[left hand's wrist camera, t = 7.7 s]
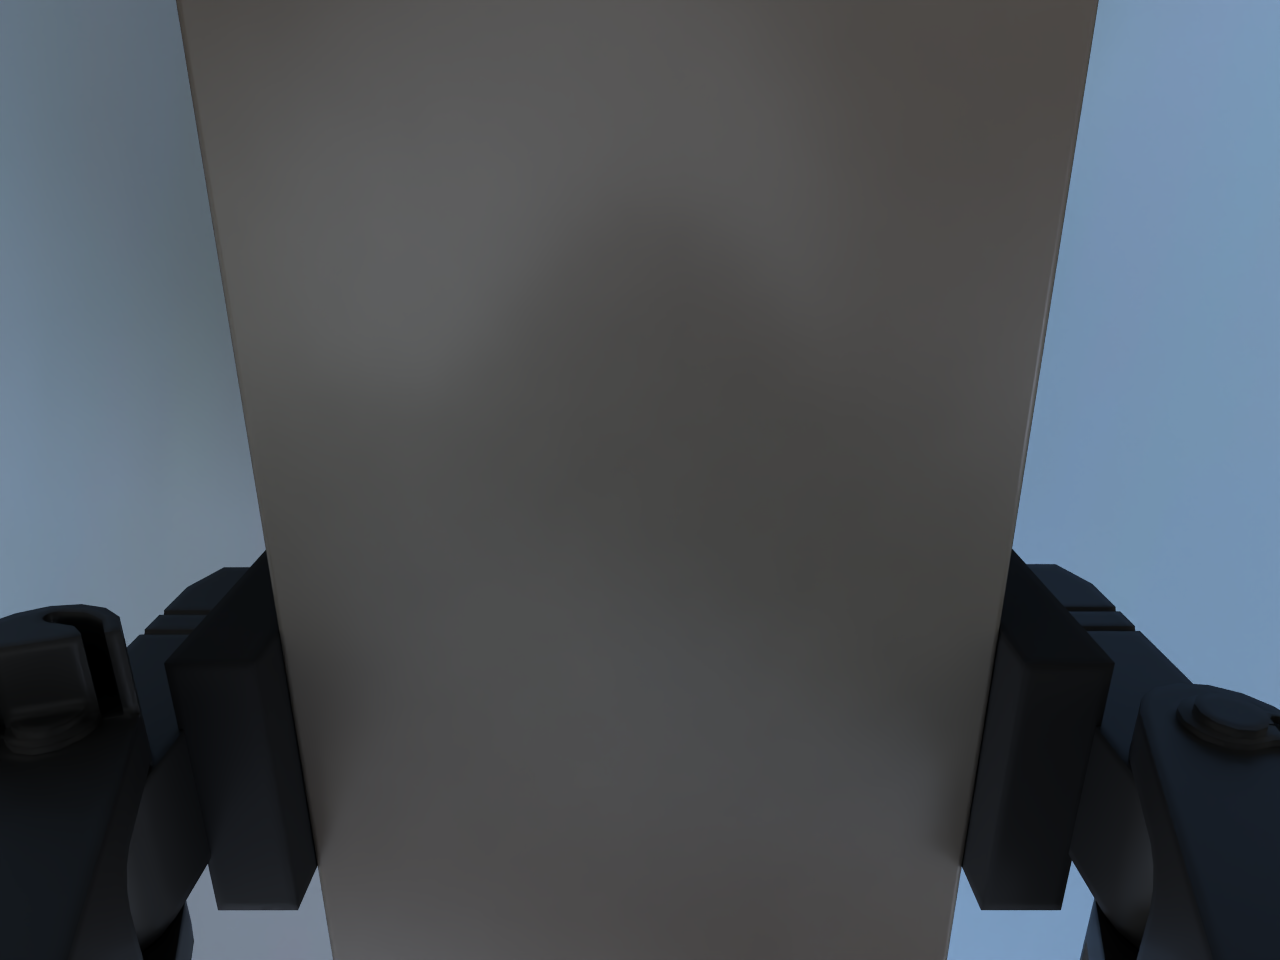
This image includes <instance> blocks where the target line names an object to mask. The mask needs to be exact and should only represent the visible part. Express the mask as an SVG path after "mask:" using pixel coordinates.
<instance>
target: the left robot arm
mask: <svg viewBox="0 0 1280 960" xmlns="http://www.w3.org/2000/svg"><path fill="white" fill-rule="evenodd" d="M1071 861H1073V863H1074V864H1075V866H1076V868H1077V869H1078V871H1079V873H1080V874H1081V876H1082V878H1083V880H1084V881H1085V883H1086V885H1087V886H1088V888H1089V890H1090V891H1091V893H1092V895H1093V896H1094V902H1093V906H1092V911H1091V915H1090V919H1089V923H1088V928H1087V932H1086V936H1085V940H1084V945H1083V949H1082V953H1081V957H1080V960H1280V710H1279V709H1277V708H1276V707H1274V706H1271V705H1269V704H1266V703H1264V702H1262V701H1259V700H1257V699H1254V698H1252V697H1250V696H1247V695H1245V694H1242V693H1239V692H1235V691H1231V690H1227V689H1222V688H1218V687H1214V686H1210V685H1200V684H1193V683H1192V682H1191V681H1190V680H1189V679H1188V678H1187V677H1186V676H1185V675H1184V674H1183V673H1182V672H1181V671H1180V670H1179V669H1178V668H1177V667H1176V666H1175V665H1174V664H1173V663H1172V662H1171V661H1170V660H1169V659H1168V658H1167V657H1166V656H1165V655H1164V654H1163V653H1161V652H1160V651H1159V650H1158V649H1157V648H1156V647H1155V646H1154V645H1153V644H1152V643H1151V642H1150V641H1149V640H1148V639H1147V638H1146V637H1145V636H1144V635H1143V634H1142V633H1141V632H1140V631H1135V626H1134V625H1133V624H1132V623H1131V622H1130V621H1129V620H1128V619H1127V618H1126V617H1125V616H1124V615H1123V614H1122V613H1121V612H1116V610H1115V606H1114V605H1113V604H1112V603H1111V602H1110V601H1109V600H1108V599H1107V598H1106V597H1105V596H1104V595H1103V594H1102V593H1101V592H1100V591H1099V590H1098V589H1097V588H1096V587H1095V586H1094V585H1093V584H1091V583H1090V582H1088V581H1086V580H1084V579H1082V578H1080V577H1078V576H1076V575H1075V574H1073V573H1071V572H1069V571H1067V570H1065V569H1063V568H1062V567H1060V566H1058V565H1056V564H1025V563H1024V561H1023V560H1022V559H1021V558H1020V557H1019V556H1018V555H1017V554H1016V553H1015V551H1014V550H1013V549H1012V551H1011V557H1010V563H1009V570H1008V576H1007V582H1006V589H1005V595H1004V601H1003V608H1002V614H1001V620H1000V627H999V633H998V639H997V646H996V652H995V658H994V665H993V671H992V677H991V684H990V690H989V696H988V702H987V709H986V715H985V721H984V728H983V734H982V740H981V747H980V753H979V759H978V766H977V772H976V778H975V785H974V791H973V797H972V804H971V810H970V816H969V823H968V829H967V835H966V842H965V848H964V854H963V860H962V868H963V870H964V872H965V875H966V877H967V879H968V881H969V884H970V886H971V888H972V890H973V893H974V895H975V897H976V900H977V902H978V904H979V906H980V909H981V910H1061V907H1062V903H1063V898H1064V893H1065V889H1066V884H1067V880H1068V875H1069V871H1070V866H1071ZM207 864H208V866H209V871H210V875H211V880H212V884H213V889H214V894H215V898H216V903H217V907H218V910H298V909H299V906H300V904H301V902H302V900H303V897H304V895H305V893H306V891H307V888H308V886H309V884H310V881H311V879H312V877H313V875H314V872H315V870H316V868H317V866H318V864H317V858H316V852H315V846H314V840H313V834H312V827H311V821H310V815H309V809H308V803H307V797H306V791H305V785H304V779H303V772H302V766H301V760H300V754H299V748H298V742H297V736H296V730H295V724H294V718H293V711H292V705H291V699H290V693H289V687H288V681H287V675H286V669H285V663H284V656H283V650H282V644H281V638H280V632H279V626H278V620H277V614H276V608H275V601H274V595H273V589H272V583H271V577H270V571H269V565H268V559H267V553H266V550H265V551H264V553H263V554H262V555H261V556H260V557H259V558H258V559H257V560H256V561H255V563H254V564H253V565H252V566H251V567H224V568H222V569H220V570H218V571H216V572H215V573H213V574H211V575H209V576H207V577H205V578H203V579H202V580H200V581H198V582H196V583H194V584H192V585H190V586H189V587H187V588H186V589H185V590H184V591H183V592H182V593H181V594H180V595H179V596H178V597H177V598H176V599H175V600H174V601H173V602H172V603H171V604H170V605H169V606H168V607H167V608H166V609H165V610H164V615H159V616H158V617H157V618H156V619H155V620H154V621H153V622H152V623H151V624H150V625H149V626H148V627H147V628H146V629H145V634H144V635H139V636H138V637H137V638H136V639H135V640H134V641H133V642H132V643H131V644H130V645H129V646H128V647H126V643H125V638H124V634H123V630H122V626H121V621H120V617H119V616H117V615H116V614H114V613H113V612H111V611H110V610H108V609H107V608H103V607H97V606H90V605H83V604H77V605H61V606H49V607H44V608H39V609H34V610H29V611H25V612H20V613H15V614H12V615H10V616H7V617H4V618H1V619H0V960H191V958H192V951H193V944H194V938H193V931H192V924H191V919H190V915H189V911H188V906H187V902H186V900H187V898H188V896H189V894H190V893H191V891H192V889H193V888H194V886H195V884H196V883H197V881H198V879H199V878H200V876H201V874H202V873H203V871H204V869H205V867H206V866H207Z"/></svg>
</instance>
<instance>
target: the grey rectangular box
mask: <svg viewBox="0 0 1280 960" xmlns="http://www.w3.org/2000/svg"><path fill="white" fill-rule="evenodd" d="M1098 1H1099V0H176V3H177V9H178V15H179V21H180V27H181V33H182V40H183V46H184V52H185V58H186V64H187V70H188V76H189V82H190V88H191V95H192V101H193V107H194V113H195V119H196V125H197V131H198V137H199V143H200V149H201V156H202V162H203V168H204V174H205V180H206V186H207V192H208V198H209V204H210V211H211V217H212V223H213V229H214V235H215V241H216V247H217V253H218V259H219V266H220V272H221V278H222V284H223V290H224V296H225V302H226V308H227V314H228V321H229V327H230V333H231V339H232V345H233V351H234V357H235V363H236V369H237V375H238V382H239V388H240V394H241V400H242V406H243V412H244V418H245V424H246V430H247V437H248V443H249V449H250V455H251V461H252V467H253V473H254V479H255V485H256V492H257V498H258V504H259V510H260V516H261V522H262V528H263V534H264V540H265V547H266V553H267V559H268V565H269V571H270V577H271V583H272V589H273V595H274V601H275V608H276V614H277V620H278V626H279V632H280V638H281V644H282V650H283V656H284V663H285V669H286V675H287V681H288V687H289V693H290V699H291V705H292V711H293V718H294V724H295V730H296V736H297V742H298V748H299V754H300V760H301V766H302V772H303V779H304V785H305V791H306V797H307V803H308V809H309V815H310V821H311V827H312V834H313V840H314V846H315V852H316V858H317V864H318V870H319V876H320V882H321V889H322V895H323V901H324V907H325V913H326V919H327V925H328V931H329V937H330V944H331V950H332V956H333V960H947V955H948V949H949V943H950V936H951V930H952V924H953V917H954V911H955V905H956V898H957V892H958V886H959V879H960V873H961V867H962V860H963V854H964V848H965V842H966V835H967V829H968V823H969V816H970V810H971V804H972V797H973V791H974V785H975V778H976V772H977V766H978V759H979V753H980V747H981V740H982V734H983V728H984V721H985V715H986V709H987V702H988V696H989V690H990V684H991V677H992V671H993V665H994V658H995V652H996V646H997V639H998V633H999V627H1000V620H1001V614H1002V608H1003V601H1004V595H1005V589H1006V582H1007V576H1008V570H1009V563H1010V557H1011V551H1012V544H1013V538H1014V532H1015V526H1016V519H1017V513H1018V507H1019V500H1020V494H1021V488H1022V481H1023V475H1024V469H1025V462H1026V456H1027V450H1028V443H1029V437H1030V431H1031V424H1032V418H1033V412H1034V405H1035V399H1036V393H1037V387H1038V380H1039V374H1040V368H1041V361H1042V355H1043V349H1044V342H1045V336H1046V330H1047V323H1048V317H1049V311H1050V304H1051V298H1052V292H1053V285H1054V279H1055V273H1056V266H1057V260H1058V254H1059V247H1060V241H1061V235H1062V229H1063V222H1064V216H1065V210H1066V203H1067V197H1068V191H1069V184H1070V178H1071V172H1072V165H1073V159H1074V153H1075V146H1076V140H1077V134H1078V127H1079V121H1080V115H1081V108H1082V102H1083V96H1084V89H1085V83H1086V77H1087V71H1088V64H1089V58H1090V52H1091V45H1092V39H1093V33H1094V26H1095V20H1096V14H1097V7H1098Z"/></svg>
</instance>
